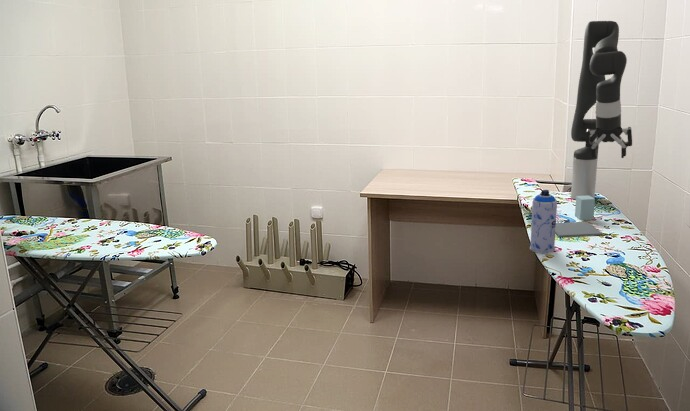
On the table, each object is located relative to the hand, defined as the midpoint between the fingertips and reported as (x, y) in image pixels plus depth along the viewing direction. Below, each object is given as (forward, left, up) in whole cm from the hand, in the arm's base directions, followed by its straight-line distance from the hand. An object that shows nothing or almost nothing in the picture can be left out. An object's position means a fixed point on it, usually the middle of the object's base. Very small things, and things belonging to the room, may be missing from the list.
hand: (608, 157), depth 194 cm
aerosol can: (+15, -27, -26) cm, 41 cm away
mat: (-2, -10, -26) cm, 28 cm away
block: (-15, -1, -26) cm, 30 cm away
